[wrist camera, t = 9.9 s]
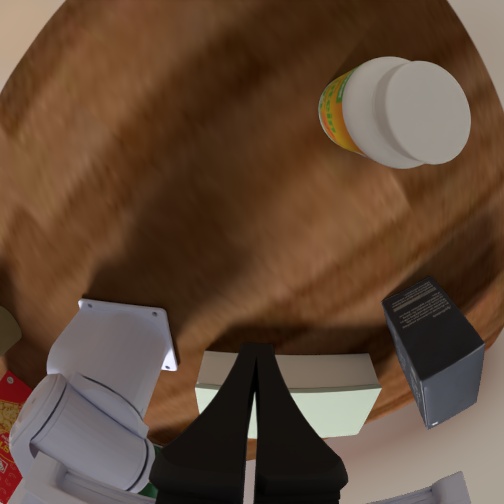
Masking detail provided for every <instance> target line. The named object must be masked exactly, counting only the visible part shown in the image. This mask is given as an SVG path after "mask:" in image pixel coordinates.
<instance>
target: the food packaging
mask: <svg viewBox="0 0 504 504" xmlns="http://www.w3.org/2000/svg"><path fill="white" fill-rule="evenodd" d="M32 392H33V390H32V389H31V388H30V387H29V386H27V385H26V384H25V383H24V382H22V381H21V380H20V379H19V378H17V377H16V376H15V375H14V374H13V373H11V372H10V371H9V370H8V371H7V372H6V374H5V375H4V376H3V378H2V379H1V381H0V502H1V503H3V504H7V503H8V501H9V499H10V498H11V496H12V494H13V493H14V491H15V490H16V488H17V486H18V485H19V483H20V482H21V480H22V478H23V477H22V475H21V473H20V471H19V469H18V467H17V465H16V463H15V461H14V459H13V457H12V455H11V453H10V449H9V435H10V431H11V428H12V426H13V424H14V423H15V421H16V420H17V418H18V416H19V413H20V411H21V409H22V407H23V406H24V404H25V402H26V401H27V399H28V398H29V396H30V395H31V393H32Z"/></svg>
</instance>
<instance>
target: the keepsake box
mask: <svg viewBox="0 0 504 504" xmlns="http://www.w3.org/2000/svg"><path fill="white" fill-rule="evenodd" d="M237 356H238V353H226V352H213V351H204V355H203V359H202V363H201V367H200V371H199V376H198V380H197V383H198V384H207V385H217V386H222V384H223V383H224V381H225V380H226V378H227V376H228V374H229V372H230V370H231V368H232V367H233V365H234V362H235V360H236V358H237ZM275 357H276V360H277V363H278V366H279V369H280V372H281V374H282V376H283V379H284V381H285V383H286V386H287V388H288V389H315V388H339V387H354V386H366V385H376V384H379V382H378V379H377V376H376V373H375V370H374V367H373V364H372V361H371V358H370V355H369V353H364V354H343V355H275Z"/></svg>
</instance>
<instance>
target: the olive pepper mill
mask: <svg viewBox="0 0 504 504" xmlns="http://www.w3.org/2000/svg"><path fill="white" fill-rule="evenodd" d="M21 338H22V333H21V329H20V327H19V325H18V323H17V322H16V320H15V319H14V317H13V316H12V315H11V314H10V313H9V312H8V311H7V310H6V309H5V308H4V307H2V306H0V357H1V356H2V355H3V354H4V353H5V352H6V351H7V350H9V349H10V348H11V347H12V346H13V345H14V344H15V343H16V342H17V341H19V340H20V339H21Z"/></svg>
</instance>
